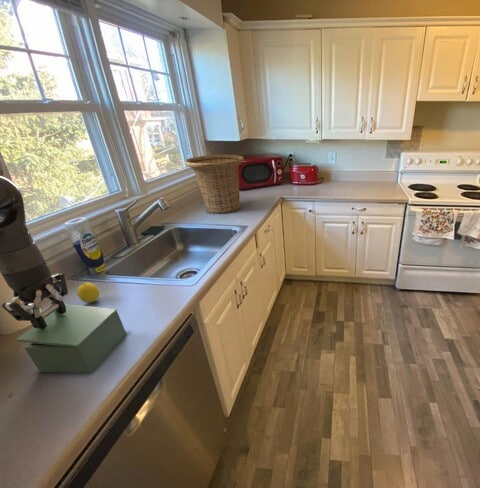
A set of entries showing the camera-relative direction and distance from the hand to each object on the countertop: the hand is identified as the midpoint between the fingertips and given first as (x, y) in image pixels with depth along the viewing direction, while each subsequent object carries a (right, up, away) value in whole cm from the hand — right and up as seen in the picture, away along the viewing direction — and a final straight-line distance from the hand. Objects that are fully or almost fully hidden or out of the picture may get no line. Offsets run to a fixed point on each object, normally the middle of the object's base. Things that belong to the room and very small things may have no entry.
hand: (52, 319), depth 73 cm
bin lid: (+4, -2, +1) cm, 5 cm away
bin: (+5, -10, +5) cm, 13 cm away
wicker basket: (+3, +43, +116) cm, 124 cm away
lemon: (-10, -1, +25) cm, 27 cm away
